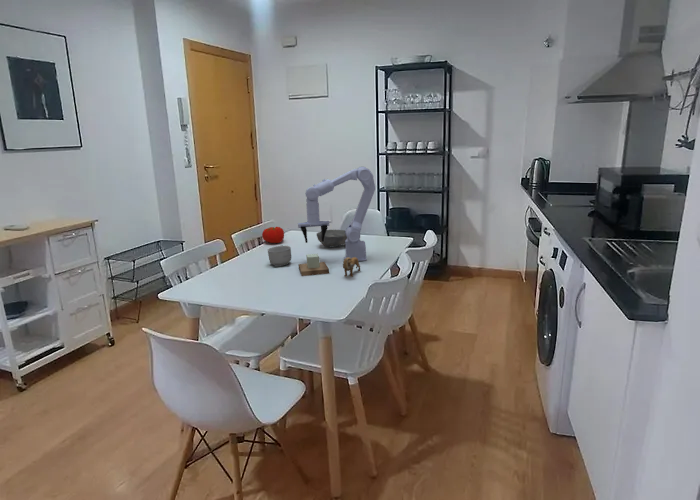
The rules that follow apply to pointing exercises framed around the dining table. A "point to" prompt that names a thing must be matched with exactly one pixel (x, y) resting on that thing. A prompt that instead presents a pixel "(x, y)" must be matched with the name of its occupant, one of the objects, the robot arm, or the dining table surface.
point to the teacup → (279, 255)
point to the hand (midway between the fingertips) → (314, 241)
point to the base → (313, 269)
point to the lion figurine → (350, 265)
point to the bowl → (333, 238)
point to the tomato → (273, 235)
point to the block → (313, 261)
